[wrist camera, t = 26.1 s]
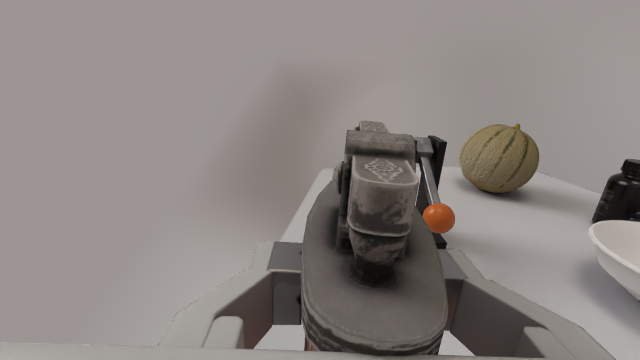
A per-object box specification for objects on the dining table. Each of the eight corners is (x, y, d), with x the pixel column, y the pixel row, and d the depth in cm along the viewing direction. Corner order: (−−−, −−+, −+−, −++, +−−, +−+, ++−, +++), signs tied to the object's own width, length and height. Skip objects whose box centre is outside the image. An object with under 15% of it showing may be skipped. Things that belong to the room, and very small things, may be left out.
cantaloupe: (439, 182, 70) (452, 118, 65) (480, 176, 77) (495, 117, 72) (499, 207, 58) (521, 130, 53) (542, 198, 64) (565, 128, 60)
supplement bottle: (640, 243, 47) (674, 171, 43) (586, 225, 52) (612, 159, 48) (647, 232, 51) (679, 165, 47) (596, 216, 56) (620, 155, 52)
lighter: (411, 603, 7) (550, 200, 4) (266, 573, 7) (270, 173, 4) (381, 327, 14) (417, 117, 11) (312, 317, 15) (326, 109, 11)
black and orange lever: (445, 250, 42) (468, 147, 37) (389, 248, 42) (405, 144, 37) (421, 218, 52) (437, 132, 47) (375, 216, 51) (386, 130, 46)
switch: (450, 239, 36) (464, 224, 33) (421, 238, 36) (432, 223, 33) (427, 152, 45) (435, 134, 42) (403, 151, 45) (410, 133, 42)
